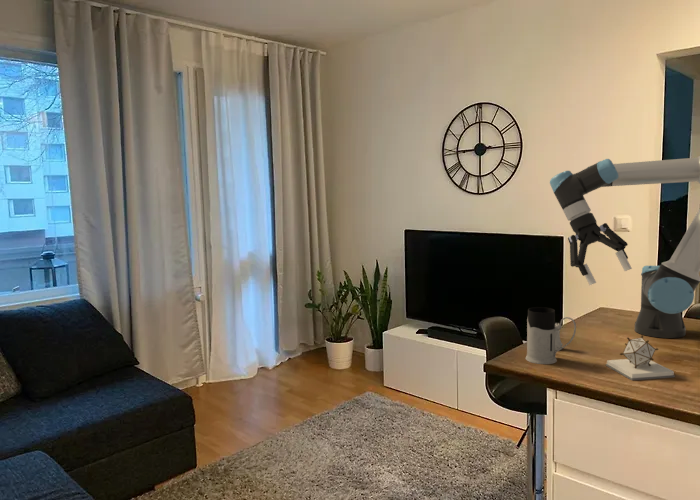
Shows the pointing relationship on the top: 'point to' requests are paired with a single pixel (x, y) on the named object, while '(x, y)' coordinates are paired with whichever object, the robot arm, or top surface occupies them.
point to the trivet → (640, 370)
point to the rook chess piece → (557, 338)
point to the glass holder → (542, 335)
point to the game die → (638, 351)
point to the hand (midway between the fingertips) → (610, 277)
